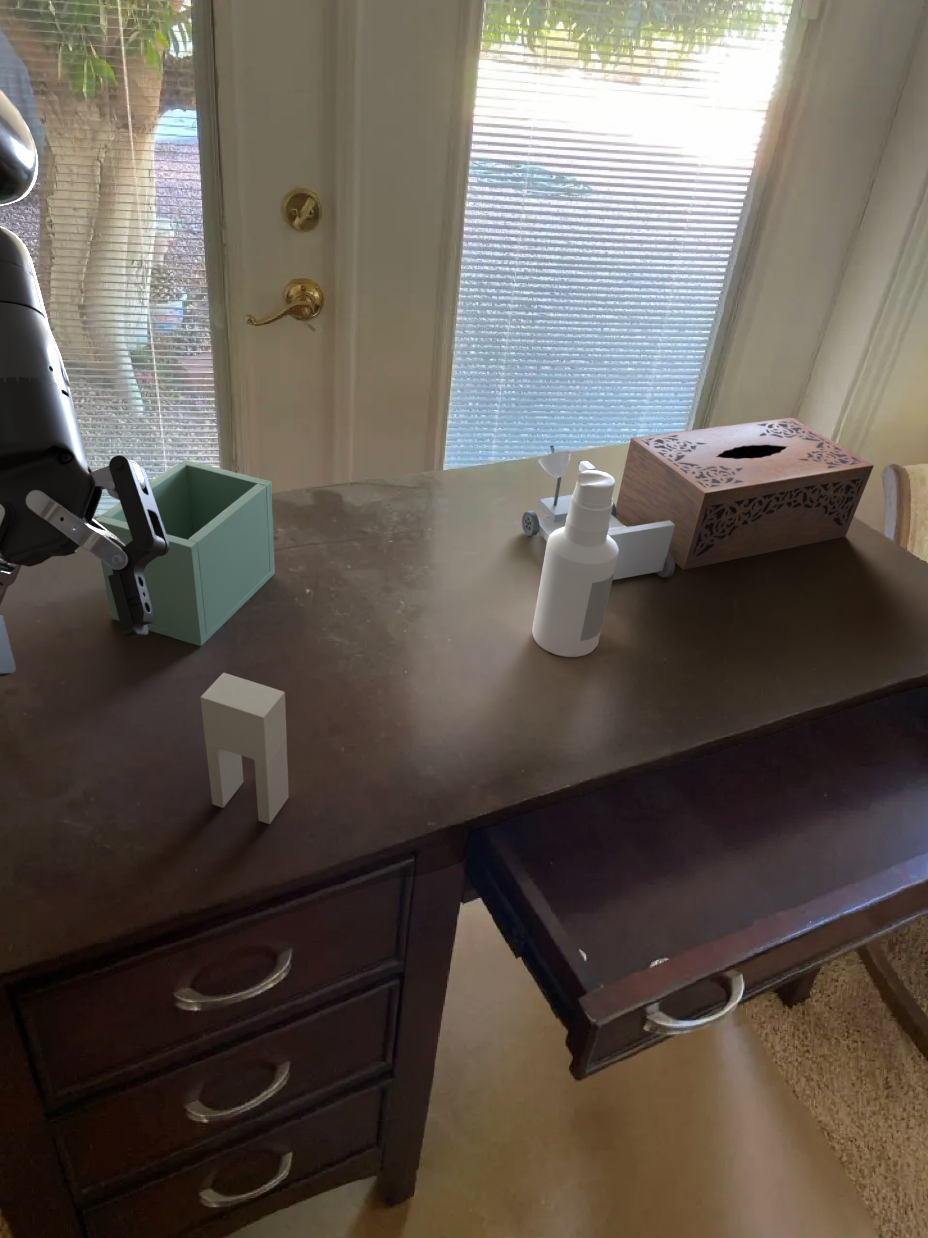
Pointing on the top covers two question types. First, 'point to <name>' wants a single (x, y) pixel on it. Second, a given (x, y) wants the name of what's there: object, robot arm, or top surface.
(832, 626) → the top surface
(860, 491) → the tissue box cover
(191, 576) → the bin
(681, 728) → the top surface
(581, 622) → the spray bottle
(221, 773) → the clip
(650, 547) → the toy car
